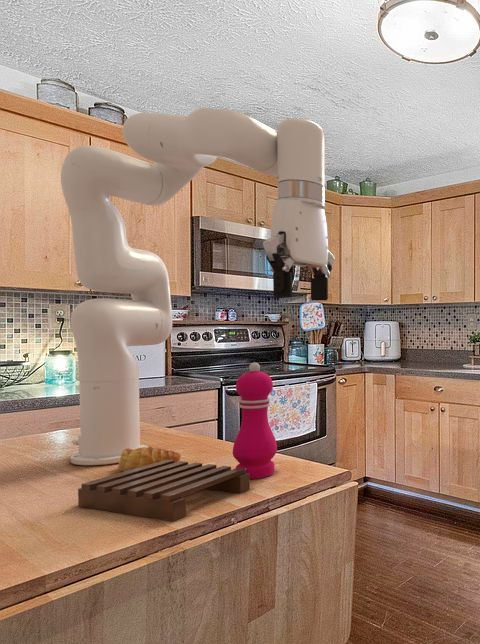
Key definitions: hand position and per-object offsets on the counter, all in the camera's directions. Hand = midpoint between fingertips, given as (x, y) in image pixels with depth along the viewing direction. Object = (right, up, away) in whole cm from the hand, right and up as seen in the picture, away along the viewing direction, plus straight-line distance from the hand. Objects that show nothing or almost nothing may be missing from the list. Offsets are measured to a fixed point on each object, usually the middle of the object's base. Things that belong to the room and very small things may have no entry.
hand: (302, 298), depth 85 cm
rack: (-18, -31, -8) cm, 37 cm away
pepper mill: (-10, -31, +4) cm, 33 cm away
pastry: (-32, -31, +8) cm, 45 cm away
